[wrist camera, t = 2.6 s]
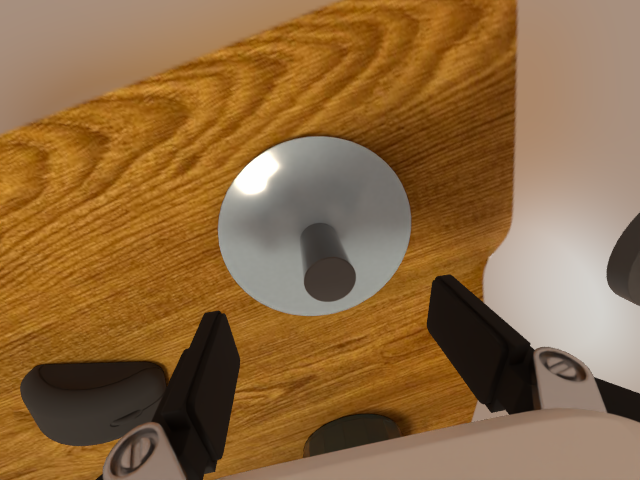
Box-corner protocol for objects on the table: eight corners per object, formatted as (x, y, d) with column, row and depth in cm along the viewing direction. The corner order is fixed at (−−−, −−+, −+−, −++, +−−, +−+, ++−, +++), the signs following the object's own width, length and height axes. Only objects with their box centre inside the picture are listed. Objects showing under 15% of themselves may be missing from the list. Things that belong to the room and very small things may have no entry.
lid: (411, 125, 17) (478, 123, 11) (400, 294, 23) (439, 352, 17) (196, 147, 16) (140, 157, 10) (245, 318, 22) (229, 388, 16)
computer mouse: (173, 403, 26) (154, 448, 22) (49, 409, 24) (7, 459, 20) (163, 360, 23) (140, 403, 19) (25, 364, 21) (-28, 412, 18)
